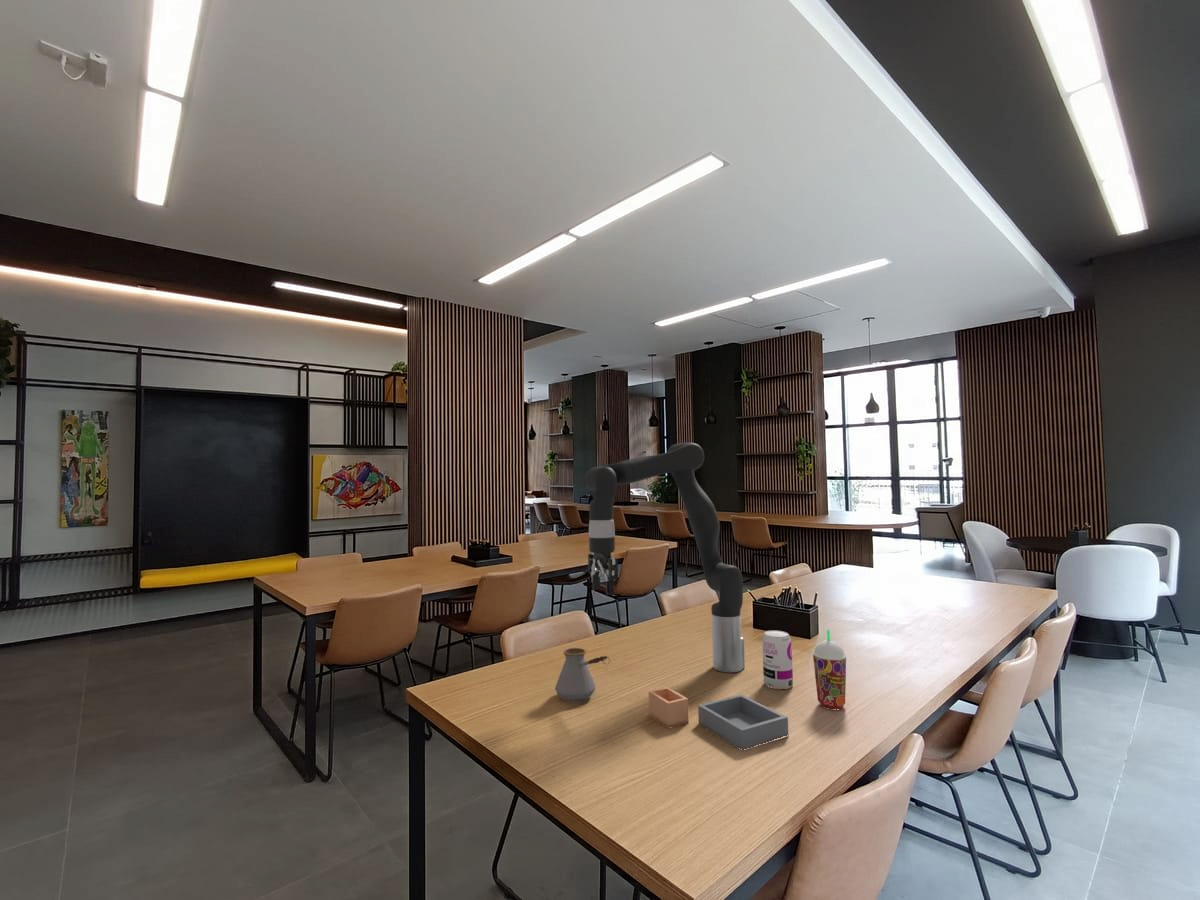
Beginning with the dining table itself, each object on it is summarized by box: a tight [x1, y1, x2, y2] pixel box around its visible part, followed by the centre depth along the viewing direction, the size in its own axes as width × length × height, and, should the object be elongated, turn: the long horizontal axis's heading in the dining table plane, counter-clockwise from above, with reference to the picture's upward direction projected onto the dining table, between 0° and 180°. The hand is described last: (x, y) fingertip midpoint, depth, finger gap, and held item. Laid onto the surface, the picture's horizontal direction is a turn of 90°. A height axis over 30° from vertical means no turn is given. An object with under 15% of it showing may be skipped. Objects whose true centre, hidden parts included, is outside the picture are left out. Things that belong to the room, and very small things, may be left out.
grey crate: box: [697, 694, 789, 751], centre depth 132 cm, size 14×16×4 cm
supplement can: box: [761, 629, 794, 690], centre depth 161 cm, size 8×8×15 cm
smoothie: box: [812, 629, 847, 711], centre depth 145 cm, size 8×8×20 cm
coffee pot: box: [555, 647, 611, 704], centre depth 151 cm, size 21×12×15 cm, turn 36°
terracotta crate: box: [648, 686, 690, 729], centre depth 139 cm, size 6×9×6 cm, turn 27°
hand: (603, 591), depth 157 cm, fingers open, 8 cm apart
